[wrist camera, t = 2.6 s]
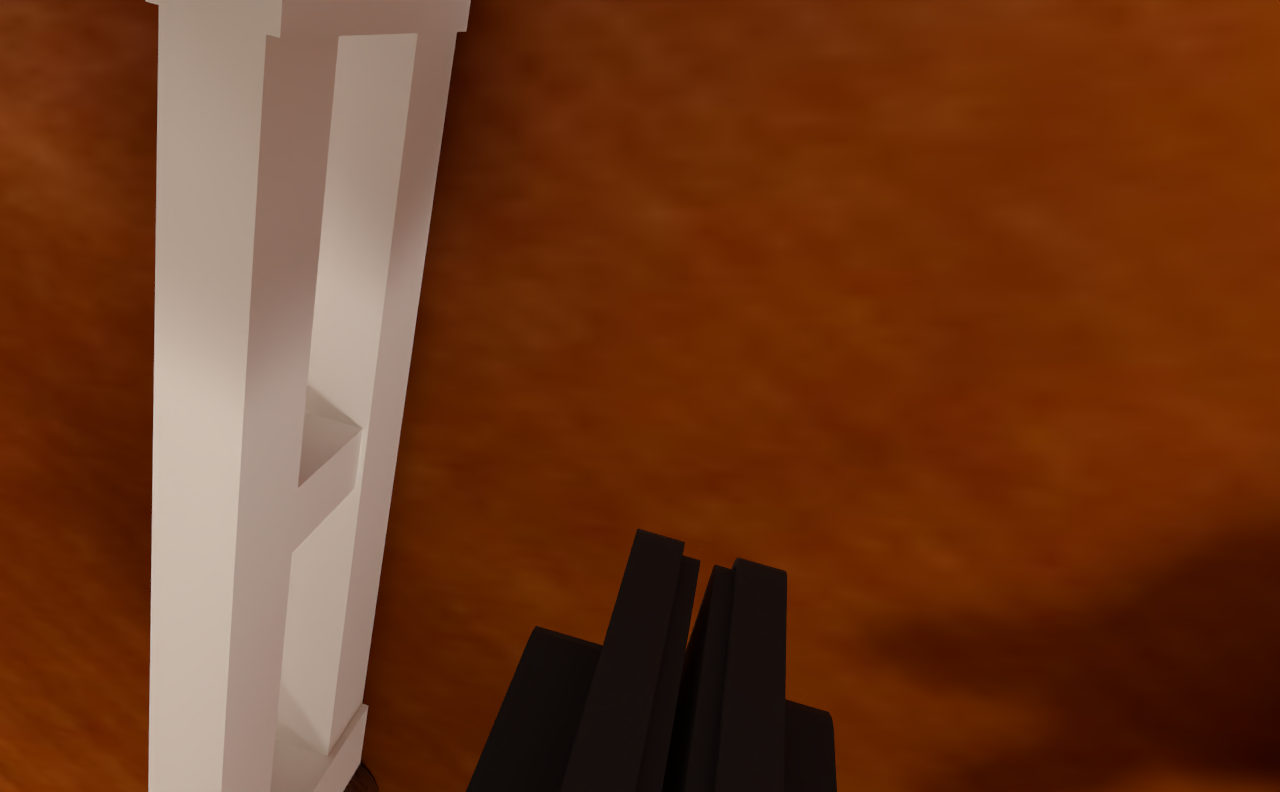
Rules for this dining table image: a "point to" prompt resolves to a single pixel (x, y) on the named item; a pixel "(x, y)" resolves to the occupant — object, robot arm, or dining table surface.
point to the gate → (282, 369)
